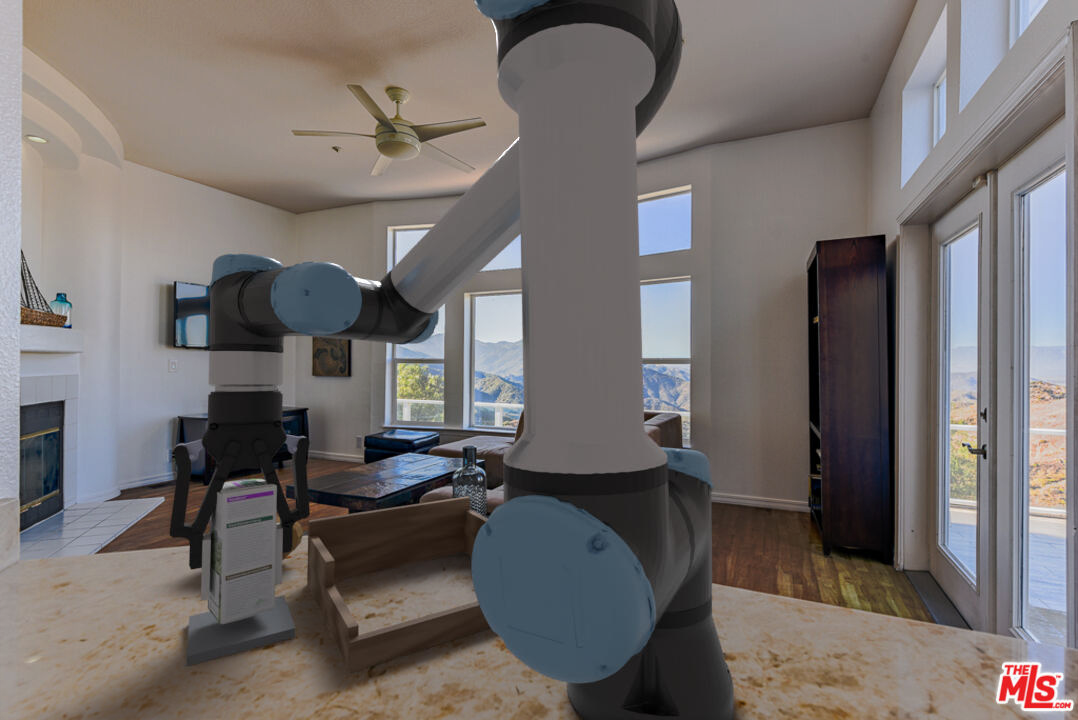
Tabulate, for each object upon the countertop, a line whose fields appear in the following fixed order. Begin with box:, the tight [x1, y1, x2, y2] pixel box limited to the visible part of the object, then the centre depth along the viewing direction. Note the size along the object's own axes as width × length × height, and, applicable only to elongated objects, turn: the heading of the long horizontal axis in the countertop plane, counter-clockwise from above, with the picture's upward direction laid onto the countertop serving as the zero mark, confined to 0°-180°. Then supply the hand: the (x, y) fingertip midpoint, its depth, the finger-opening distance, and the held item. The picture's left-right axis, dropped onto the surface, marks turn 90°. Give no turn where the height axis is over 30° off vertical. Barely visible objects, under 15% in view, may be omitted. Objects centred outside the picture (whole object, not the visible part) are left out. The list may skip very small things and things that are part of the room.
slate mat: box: [186, 594, 296, 667], centre depth 57 cm, size 10×10×1 cm
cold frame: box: [306, 496, 491, 674], centre depth 66 cm, size 25×25×9 cm
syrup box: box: [207, 478, 277, 624], centre depth 57 cm, size 6×6×14 cm
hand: (242, 587), depth 57 cm, fingers closed on syrup box, 6 cm apart
